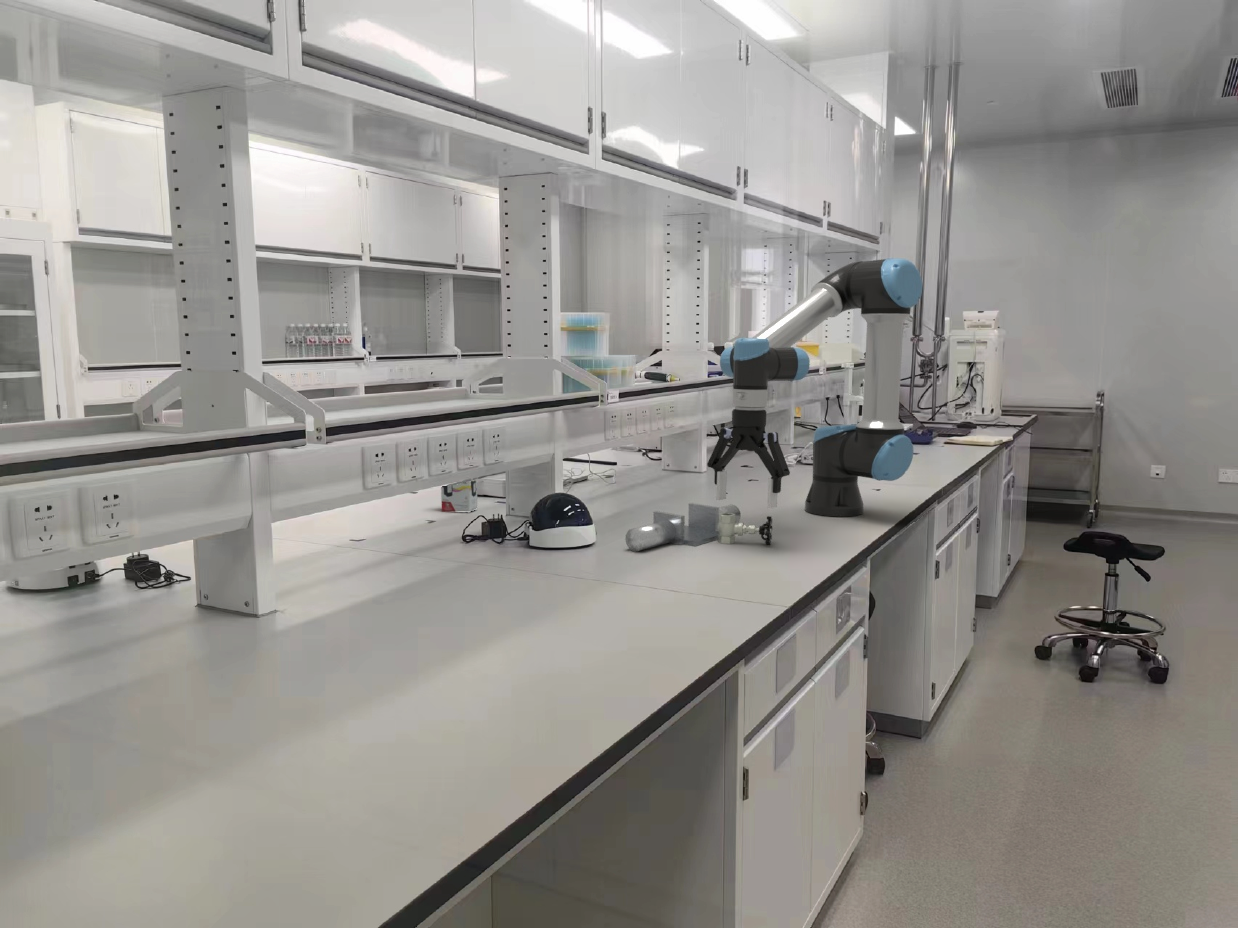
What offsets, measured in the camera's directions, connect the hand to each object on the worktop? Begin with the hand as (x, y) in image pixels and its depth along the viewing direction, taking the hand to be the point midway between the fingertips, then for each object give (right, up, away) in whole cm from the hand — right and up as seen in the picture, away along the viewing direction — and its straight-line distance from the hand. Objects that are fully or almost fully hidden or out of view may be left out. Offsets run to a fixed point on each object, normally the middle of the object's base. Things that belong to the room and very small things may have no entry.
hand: (746, 503), depth 197 cm
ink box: (-71, -4, +38) cm, 81 cm away
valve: (0, -9, +2) cm, 10 cm away
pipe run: (-13, -8, +8) cm, 17 cm away
